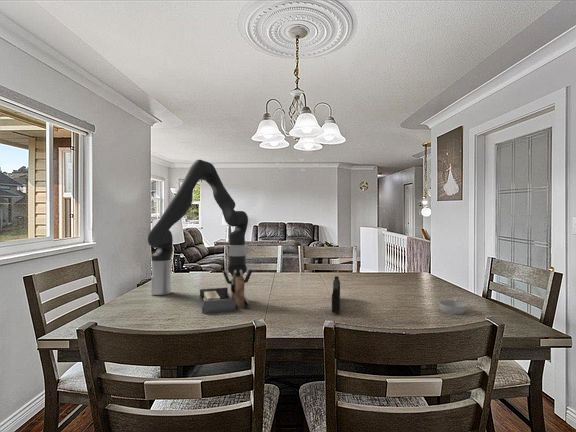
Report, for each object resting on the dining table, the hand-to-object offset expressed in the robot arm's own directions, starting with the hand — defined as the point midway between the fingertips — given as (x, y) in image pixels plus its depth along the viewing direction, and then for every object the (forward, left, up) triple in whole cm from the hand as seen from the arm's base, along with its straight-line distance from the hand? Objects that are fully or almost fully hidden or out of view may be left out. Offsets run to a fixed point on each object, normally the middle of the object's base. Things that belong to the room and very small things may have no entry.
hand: (237, 292), depth 166 cm
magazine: (+41, -18, -6) cm, 45 cm away
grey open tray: (-6, 0, -5) cm, 8 cm away
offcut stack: (-11, 0, -6) cm, 13 cm away
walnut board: (0, 0, -5) cm, 5 cm away
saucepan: (+86, -39, -6) cm, 95 cm away
